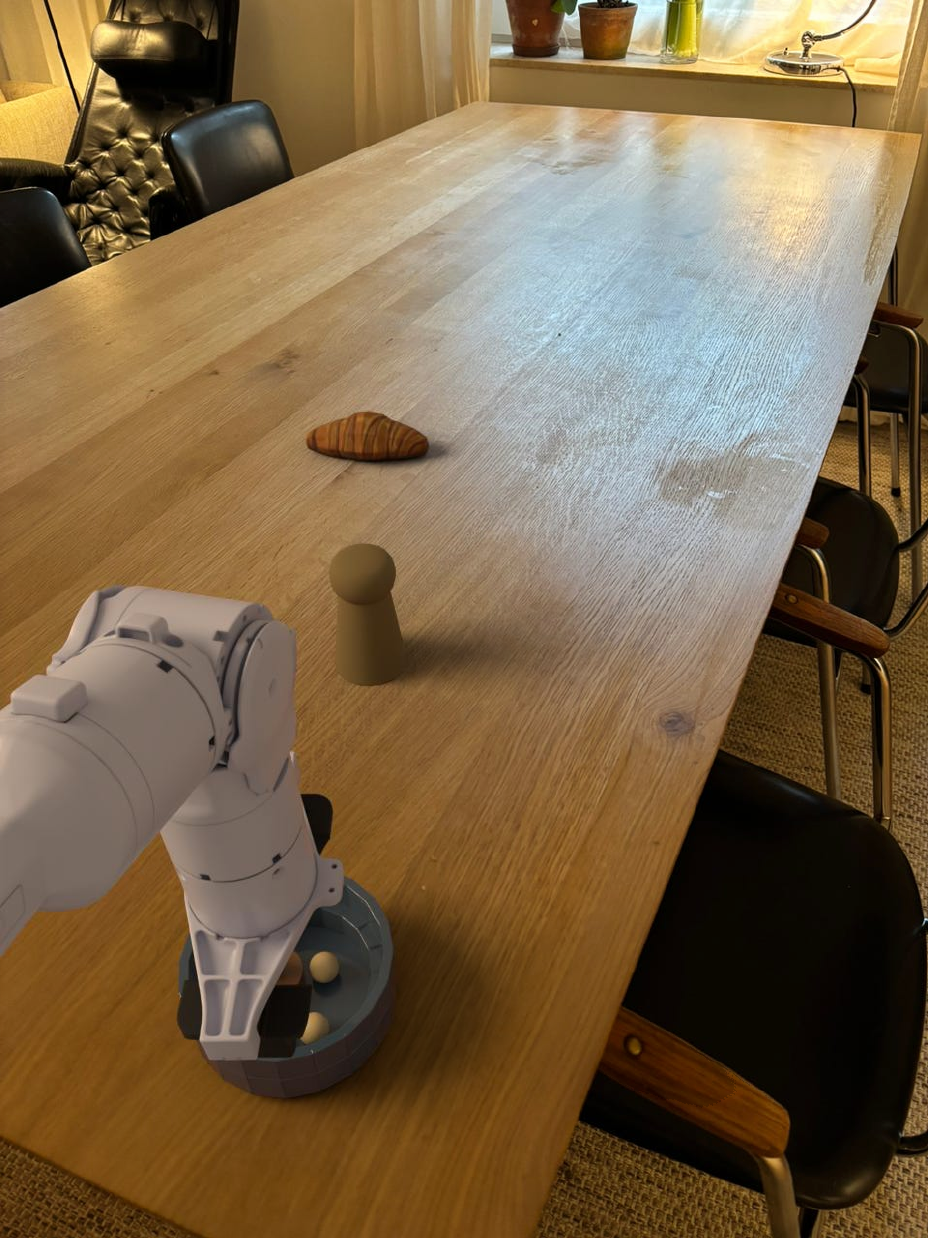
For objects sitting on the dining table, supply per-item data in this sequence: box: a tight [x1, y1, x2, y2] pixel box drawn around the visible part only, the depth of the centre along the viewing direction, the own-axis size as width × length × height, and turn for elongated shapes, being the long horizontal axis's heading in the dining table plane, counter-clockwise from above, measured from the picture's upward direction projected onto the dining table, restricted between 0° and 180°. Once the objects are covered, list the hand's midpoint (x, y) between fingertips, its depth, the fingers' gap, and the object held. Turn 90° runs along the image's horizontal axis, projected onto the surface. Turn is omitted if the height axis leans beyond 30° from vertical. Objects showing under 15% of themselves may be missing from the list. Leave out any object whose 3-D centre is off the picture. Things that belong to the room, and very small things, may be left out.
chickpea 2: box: [300, 1012, 329, 1045], centre depth 57 cm, size 2×2×2 cm
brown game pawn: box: [328, 542, 408, 687], centre depth 80 cm, size 6×6×11 cm
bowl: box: [177, 875, 399, 1099], centre depth 59 cm, size 12×12×5 cm
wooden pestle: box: [275, 950, 306, 985], centre depth 57 cm, size 4×4×9 cm
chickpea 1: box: [309, 952, 339, 983], centre depth 60 cm, size 2×2×2 cm
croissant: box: [305, 410, 430, 462], centre depth 106 cm, size 14×7×5 cm, turn 84°
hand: (283, 975), depth 51 cm, fingers open, 7 cm apart
